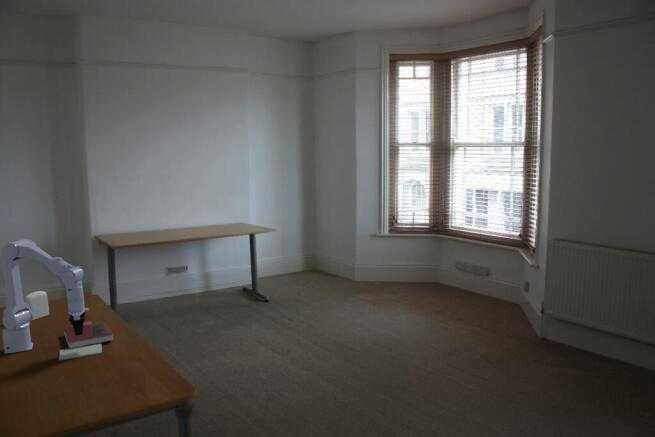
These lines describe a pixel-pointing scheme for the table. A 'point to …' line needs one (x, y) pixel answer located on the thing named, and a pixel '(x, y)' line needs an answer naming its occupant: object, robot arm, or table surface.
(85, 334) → the card box
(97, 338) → the picture frame
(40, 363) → the table surface
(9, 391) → the table surface
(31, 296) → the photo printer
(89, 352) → the sage mat
